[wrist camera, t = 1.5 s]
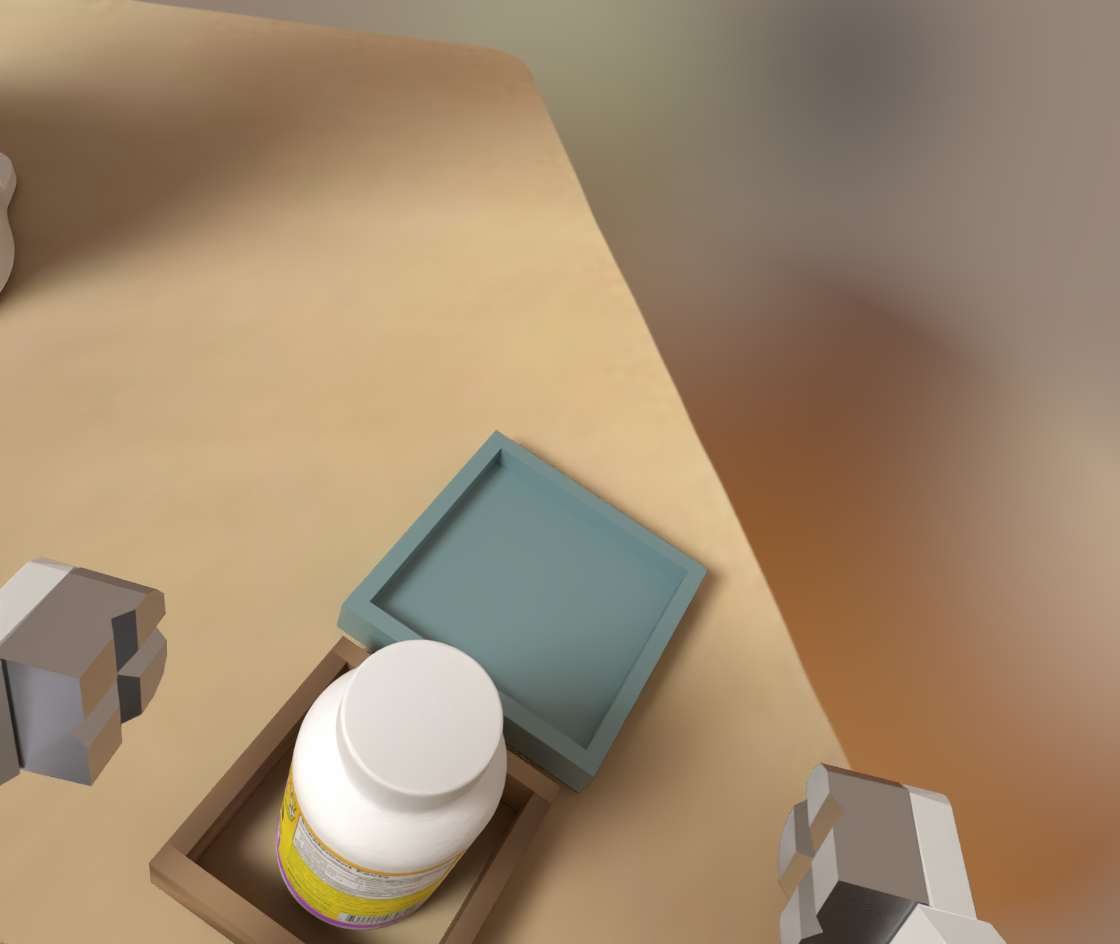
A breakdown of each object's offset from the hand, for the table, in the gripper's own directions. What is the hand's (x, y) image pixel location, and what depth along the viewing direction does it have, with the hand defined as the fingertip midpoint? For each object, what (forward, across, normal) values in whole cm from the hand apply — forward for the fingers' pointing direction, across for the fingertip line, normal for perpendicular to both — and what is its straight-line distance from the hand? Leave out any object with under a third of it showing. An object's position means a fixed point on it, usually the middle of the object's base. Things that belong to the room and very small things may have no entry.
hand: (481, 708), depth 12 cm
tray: (+26, 0, +22) cm, 34 cm away
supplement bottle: (+14, +4, +25) cm, 29 cm away
